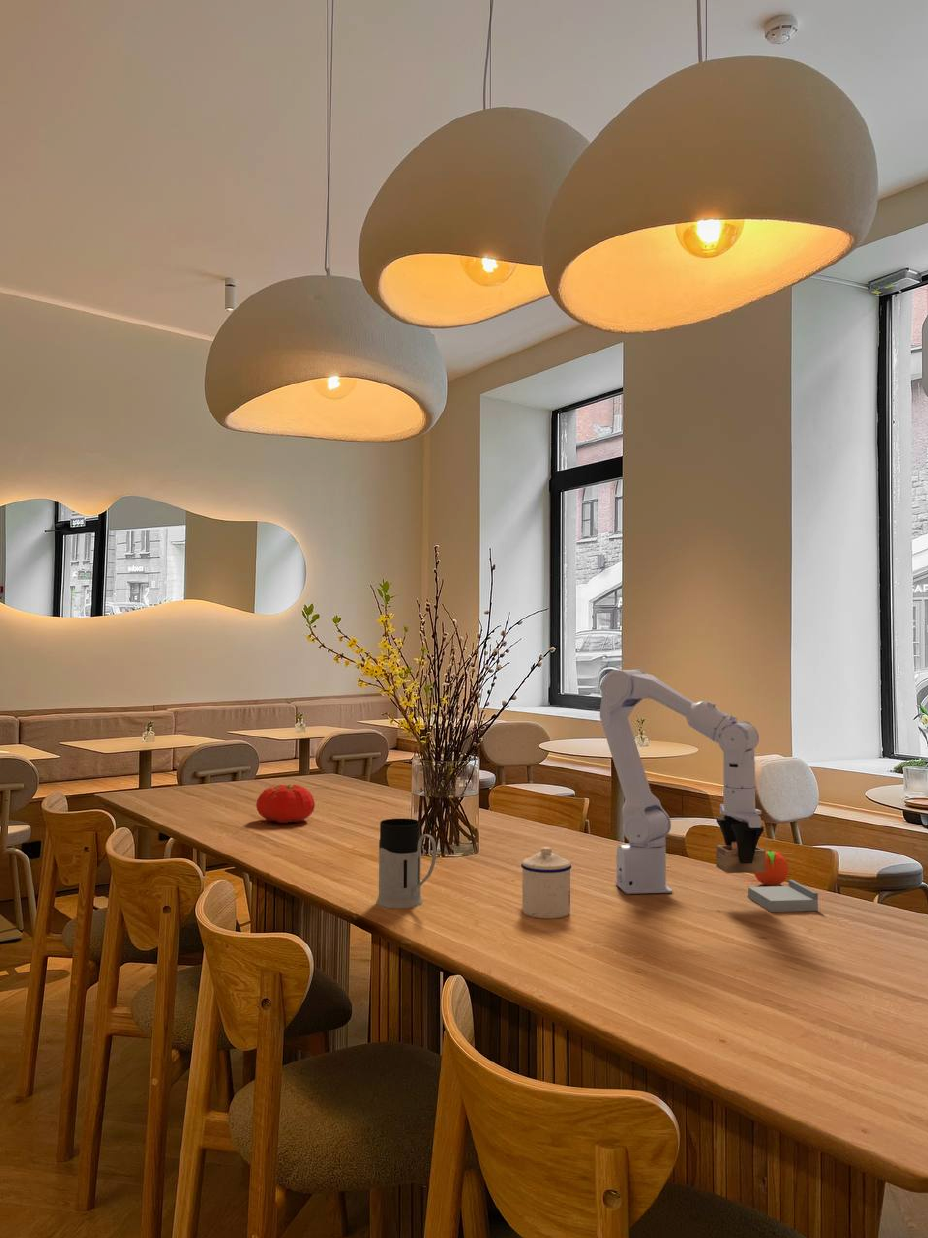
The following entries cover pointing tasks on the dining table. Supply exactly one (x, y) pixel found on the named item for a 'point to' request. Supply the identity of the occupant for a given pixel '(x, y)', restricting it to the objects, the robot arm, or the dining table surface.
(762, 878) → the red fruit
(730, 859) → the open wooden crate
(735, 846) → the ball
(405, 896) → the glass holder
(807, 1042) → the dining table surface
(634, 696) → the robot arm
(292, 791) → the tomato
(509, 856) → the dining table surface
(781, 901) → the dock
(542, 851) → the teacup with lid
